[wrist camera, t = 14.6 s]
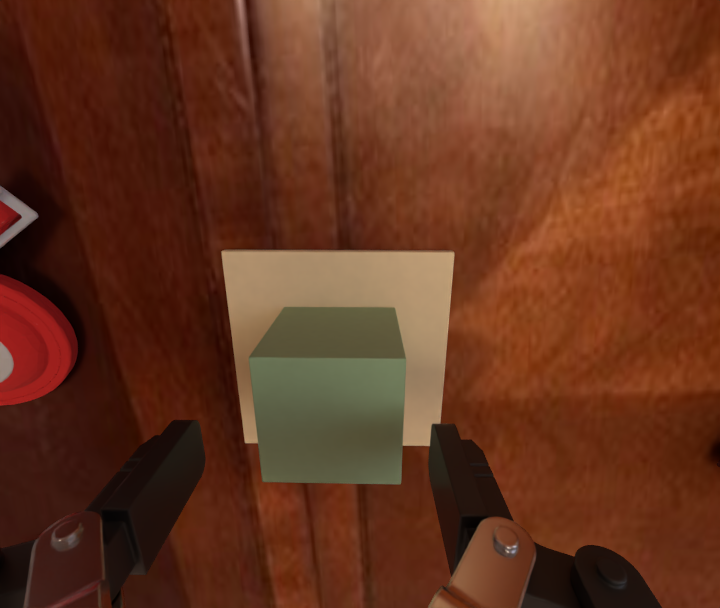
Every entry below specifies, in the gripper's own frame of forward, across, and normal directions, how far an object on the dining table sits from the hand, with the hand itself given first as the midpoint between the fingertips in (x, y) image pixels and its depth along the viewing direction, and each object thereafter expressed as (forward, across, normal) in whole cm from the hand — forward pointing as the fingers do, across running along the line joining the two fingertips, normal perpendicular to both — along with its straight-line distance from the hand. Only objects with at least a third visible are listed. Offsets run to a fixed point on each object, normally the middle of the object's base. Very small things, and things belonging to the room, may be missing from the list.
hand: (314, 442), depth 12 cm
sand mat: (+7, 0, 0) cm, 7 cm away
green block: (+6, 0, 0) cm, 7 cm away
